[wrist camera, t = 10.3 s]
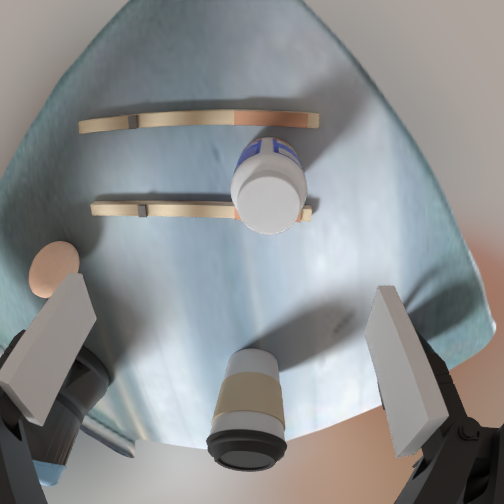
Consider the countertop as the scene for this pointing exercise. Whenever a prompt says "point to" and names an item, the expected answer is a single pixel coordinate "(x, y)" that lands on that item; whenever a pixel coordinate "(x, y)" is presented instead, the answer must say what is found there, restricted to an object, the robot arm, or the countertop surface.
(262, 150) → the pill bottle
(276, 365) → the coffee cup
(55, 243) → the egg
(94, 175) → the countertop surface
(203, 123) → the beam track
